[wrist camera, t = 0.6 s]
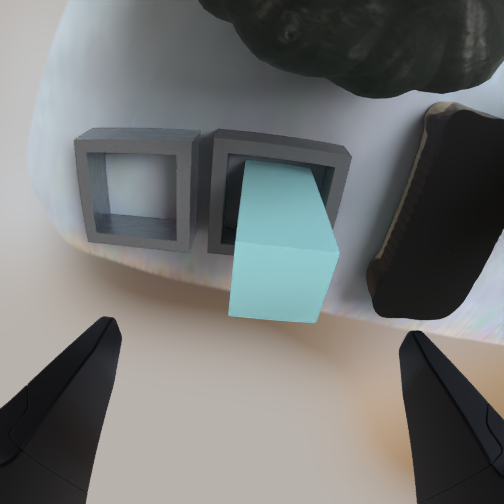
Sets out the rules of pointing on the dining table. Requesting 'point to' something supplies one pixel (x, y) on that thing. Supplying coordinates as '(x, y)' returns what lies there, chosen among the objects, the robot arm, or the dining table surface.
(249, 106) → the dining table surface
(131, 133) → the port block
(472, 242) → the black sponge
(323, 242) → the plug
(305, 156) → the grey square frame
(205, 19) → the dining table surface
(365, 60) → the squash
